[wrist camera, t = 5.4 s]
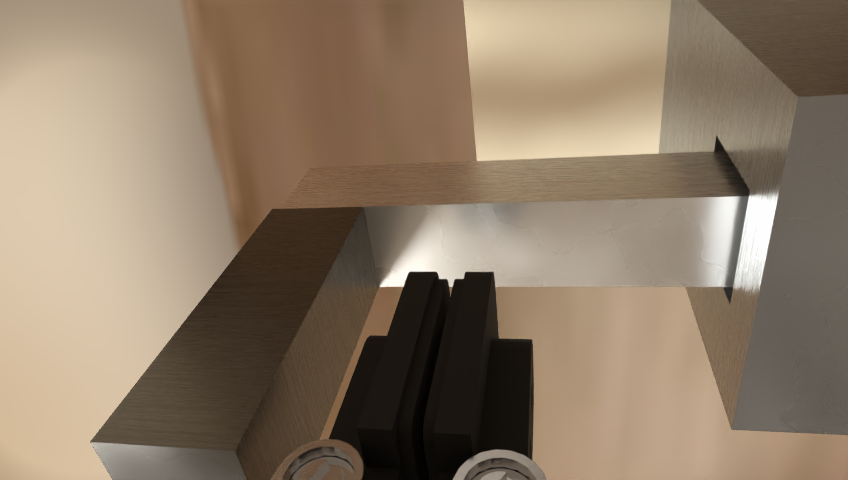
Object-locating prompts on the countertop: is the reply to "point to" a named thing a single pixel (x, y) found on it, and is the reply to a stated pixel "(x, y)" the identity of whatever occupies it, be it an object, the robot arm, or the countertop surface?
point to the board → (566, 76)
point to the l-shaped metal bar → (389, 266)
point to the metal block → (772, 200)
